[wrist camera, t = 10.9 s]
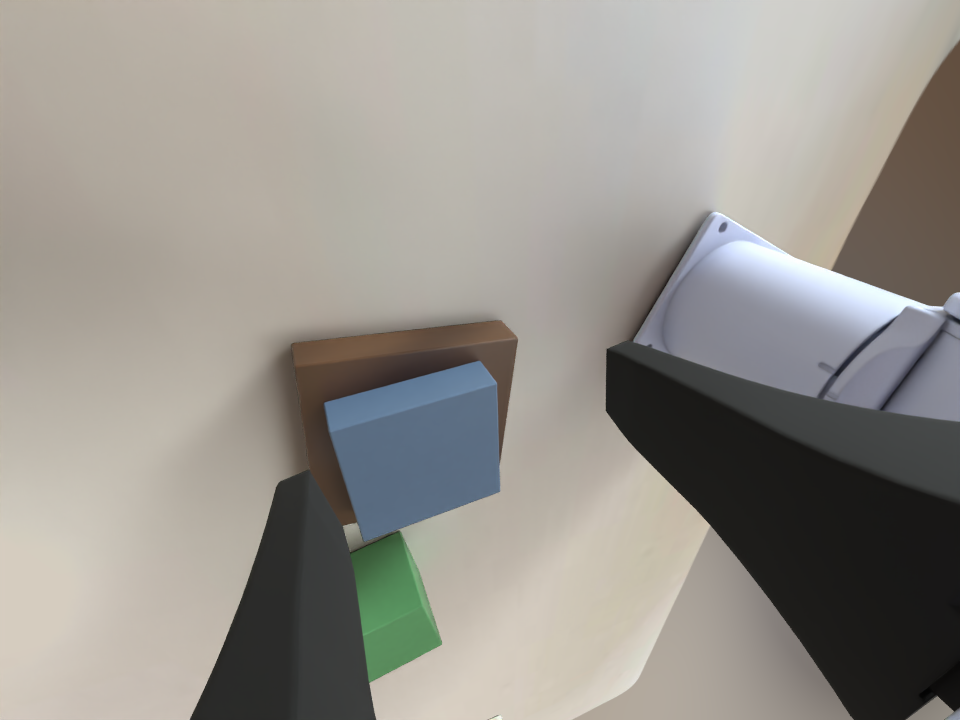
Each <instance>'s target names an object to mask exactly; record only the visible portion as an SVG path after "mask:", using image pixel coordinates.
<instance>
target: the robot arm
mask: <svg viewBox="0 0 960 720" xmlns="http://www.w3.org/2000/svg"><path fill="white" fill-rule="evenodd" d="M606 412H607V413H608V415H609V416H610V417H611V419H612V420H613V421H614V423H615V424H616V425H617V427H618V428H619V429H620V431H621V432H622V433H623V435H624V436H625V437H626V438H627V440H628V441H629V442H630V443H631V444H632V445H633V446H634V447H635V449H636V450H637V451H638V452H639V453H640V454H641V455H642V456H643V457H644V458H645V459H646V460H647V461H648V462H649V463H650V464H651V465H652V466H653V467H654V468H655V469H656V470H657V471H658V472H659V473H660V474H661V475H662V476H663V477H664V478H665V479H666V480H667V481H668V482H669V483H670V484H671V485H672V486H673V487H674V488H675V489H676V490H677V491H678V492H679V493H680V494H681V495H682V496H683V497H684V498H685V499H686V500H687V501H688V502H689V503H690V504H691V505H692V506H693V507H694V508H695V509H696V510H697V511H698V512H699V513H700V514H701V515H702V517H703V518H704V519H705V520H706V521H707V522H708V523H709V524H710V525H711V526H712V528H713V529H714V530H715V531H716V532H717V534H718V535H719V536H720V537H721V538H722V540H723V541H724V542H725V543H726V545H727V546H728V547H729V548H730V550H731V551H732V552H733V553H734V554H735V556H736V557H737V558H738V559H739V560H740V562H741V563H742V564H743V566H744V567H745V568H746V569H747V571H748V572H749V573H750V575H751V576H752V577H753V578H754V580H755V581H756V582H757V584H758V585H759V586H760V587H761V589H762V590H763V591H764V593H765V594H766V595H767V596H768V598H769V599H770V600H771V602H772V603H773V605H774V606H775V607H776V609H777V610H778V611H779V613H780V614H781V616H782V617H783V618H784V620H785V621H786V622H787V624H788V625H789V626H790V628H791V629H792V631H793V632H794V633H795V635H796V636H797V637H798V639H799V640H800V641H801V643H802V644H803V646H804V647H805V649H806V650H807V652H808V653H809V655H810V656H811V657H812V659H813V660H814V662H815V663H816V665H817V666H818V668H819V669H820V671H821V672H822V673H823V675H824V677H825V678H826V679H827V681H828V682H829V683H830V685H831V687H832V688H833V689H834V691H835V693H836V694H837V696H838V697H839V699H840V700H841V702H842V704H843V705H844V707H845V708H846V710H847V711H848V713H849V714H850V716H851V717H852V718H853V719H854V720H906V719H907V718H909V717H910V716H911V715H913V714H914V713H915V712H917V711H918V710H919V709H921V708H922V707H923V706H924V705H926V704H927V703H929V702H930V701H931V700H933V699H934V698H935V697H937V696H938V697H939V698H940V699H941V700H943V702H945V703H946V704H947V705H948V706H949V707H950V708H951V709H952V710H953V711H954V712H953V713H952V714H951V715H950V716H948V717H947V718H946V719H944V720H960V293H954V294H953V295H952V296H950V297H949V299H948V300H947V302H946V303H945V305H944V306H943V307H936V306H927V305H924V304H922V303H919V302H916V301H913V300H910V299H908V298H905V297H902V296H899V295H897V294H894V293H891V292H888V291H885V290H883V289H880V288H877V287H874V286H871V285H869V284H866V283H863V282H860V281H858V280H855V279H852V278H849V277H846V276H844V275H841V274H838V273H835V272H832V271H830V270H827V269H824V268H821V267H819V266H816V265H813V264H810V263H807V262H805V261H802V260H799V259H796V258H794V257H792V256H790V255H789V254H787V253H785V252H784V251H782V250H780V249H779V248H777V247H776V246H774V245H772V244H771V243H769V242H767V241H766V240H764V239H762V238H761V237H759V236H757V235H756V234H754V233H752V232H751V231H749V230H747V229H746V228H744V227H743V226H741V225H739V224H738V223H736V222H734V221H733V220H731V219H729V218H728V217H726V216H724V215H723V214H720V213H717V212H714V213H711V214H710V215H709V216H708V217H707V218H706V219H705V221H704V223H703V224H702V226H701V228H700V229H699V231H698V233H697V235H696V236H695V238H694V240H693V241H692V243H691V245H690V246H689V248H688V250H687V251H686V253H685V255H684V256H683V258H682V260H681V261H680V263H679V265H678V266H677V268H676V270H675V271H674V273H673V275H672V276H671V278H670V280H669V281H668V283H667V285H666V286H665V288H664V290H663V291H662V293H661V295H660V296H659V298H658V300H657V301H656V303H655V305H654V306H653V308H652V310H651V311H650V313H649V315H648V316H647V318H646V320H645V322H644V323H643V325H642V327H641V328H640V330H639V332H638V333H637V335H636V337H635V338H634V340H633V342H631V341H625V342H623V343H620V344H618V345H615V346H613V347H610V348H608V349H607V353H606ZM190 720H376V717H375V713H374V708H373V702H372V697H371V691H370V685H369V678H368V670H367V663H366V655H365V648H364V640H363V632H362V625H361V617H360V609H359V602H358V595H357V587H356V580H355V573H354V568H353V564H352V560H351V556H350V552H349V548H348V544H347V541H346V537H345V533H344V529H343V526H342V524H341V523H340V521H339V519H338V518H337V516H336V514H335V513H334V511H333V509H332V507H331V506H330V504H329V502H328V501H327V499H326V497H325V496H324V494H323V492H322V491H321V489H320V487H319V486H318V484H317V482H316V480H315V479H314V477H313V475H312V474H311V472H310V470H307V471H305V472H302V473H300V474H297V475H295V476H292V477H290V478H287V479H285V480H282V481H280V482H279V483H278V485H277V487H276V490H275V494H274V497H273V501H272V505H271V508H270V512H269V516H268V519H267V523H266V526H265V529H264V533H263V536H262V539H261V542H260V546H259V549H258V552H257V555H256V558H255V561H254V564H253V567H252V570H251V573H250V576H249V579H248V582H247V585H246V587H245V590H244V593H243V596H242V599H241V601H240V604H239V606H238V609H237V611H236V614H235V616H234V619H233V622H232V624H231V627H230V629H229V632H228V634H227V637H226V640H225V642H224V645H223V647H222V649H221V652H220V654H219V657H218V659H217V661H216V664H215V666H214V668H213V671H212V673H211V675H210V677H209V680H208V682H207V684H206V686H205V689H204V691H203V693H202V695H201V697H200V699H199V701H198V703H197V706H196V708H195V710H194V712H193V714H192V716H191V718H190Z"/></svg>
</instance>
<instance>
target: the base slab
mask: <svg viewBox="0 0 960 720" xmlns="http://www.w3.org/2000/svg"><path fill="white" fill-rule="evenodd" d="M517 342H518V337H517V336H516V335H515V334H514V333H513V332H512V331H511V330H510V329H509V328H508V327H507V326H506V325H505V324H504V323H503V322H502V321H501V320H499V321H490V322H480V323H471V324H462V325H453V326H444V327H435V328H426V329H417V330H408V331H399V332H390V333H381V334H372V335H363V336H354V337H345V338H336V339H327V340H317V341H308V342H299V343H293V344H291V349H292V357H293V366H294V372H295V379H296V386H297V392H298V399H299V405H300V412H301V418H302V425H303V432H304V438H305V445H306V451H307V458H308V464H309V470H310V472H311V474H312V475H313V477H314V479H315V480H316V482H317V484H318V486H319V487H320V489H321V491H322V492H323V494H324V496H325V497H326V499H327V501H328V502H329V504H330V506H331V507H332V509H333V511H334V513H335V514H336V516H337V518H338V519H339V521H340V523H341V524H342V526H344V525H348V524H352V523H356V522H357V520H356V516H355V513H354V510H353V507H352V504H351V501H350V497H349V494H348V491H347V488H346V485H345V482H344V479H343V475H342V472H341V469H340V466H339V463H338V460H337V456H336V453H335V450H334V447H333V444H332V441H331V438H330V434H329V431H328V426H327V420H326V415H325V410H324V403H325V402H328V401H332V400H336V399H340V398H343V397H347V396H351V395H354V394H358V393H362V392H365V391H369V390H373V389H376V388H380V387H384V386H387V385H391V384H395V383H399V382H402V381H406V380H410V379H413V378H417V377H421V376H424V375H428V374H432V373H435V372H439V371H443V370H446V369H450V368H454V367H458V366H461V365H465V364H469V363H472V362H476V361H481V363H482V364H483V365H484V367H485V368H486V369H487V371H488V372H489V373H490V375H491V376H492V377H493V379H494V380H495V381H496V383H497V402H498V436H499V466H500V459H501V452H502V445H503V439H504V432H505V425H506V418H507V411H508V404H509V397H510V390H511V384H512V377H513V370H514V363H515V356H516V349H517Z"/></svg>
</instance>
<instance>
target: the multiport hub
mask: <svg viewBox="0 0 960 720" xmlns="http://www.w3.org/2000/svg"><path fill="white" fill-rule="evenodd" d="M490 720H503V718H502V716H501V715H499V716H497V717H494V718H492V719H490Z"/></svg>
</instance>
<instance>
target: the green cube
mask: <svg viewBox="0 0 960 720" xmlns="http://www.w3.org/2000/svg"><path fill="white" fill-rule="evenodd" d="M350 556H351V560H352V564H353V568H354V573H355V580H356V587H357V595H358V602H359V609H360V617H361V625H362V632H363V640H364V648H365V655H366V663H367V670H368V678H369V683H370V682H372V681H374V680H376V679H377V678H379V677H381V676H383V675H385V674H387V673H389V672H391V671H393V670H395V669H396V668H398V667H400V666H402V665H404V664H406V663H408V662H410V661H412V660H414V659H415V658H417V657H419V656H421V655H423V654H425V653H427V652H429V651H431V650H432V649H434V648H436V647H438V646H440V645H442V641H441V638H440V635H439V632H438V629H437V626H436V622H435V619H434V616H433V613H432V610H431V607H430V604H429V601H428V598H427V594H426V591H425V588H424V585H423V582H422V579H421V576H420V573H419V570H418V568H417V566H416V564H415V562H414V560H413V557H412V555H411V553H410V551H409V549H408V547H407V545H406V542H405V540H404V538H403V536H402V534H401V532H400V531H399V532H397V533H395V534H392V535H390V536H388V537H386V538H384V539H381V540H379V541H377V542H375V543H373V544H370V545H368V546H366V547H364V548H362V549H359V550H357V551H355V552H353V553H351V554H350Z"/></svg>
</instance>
